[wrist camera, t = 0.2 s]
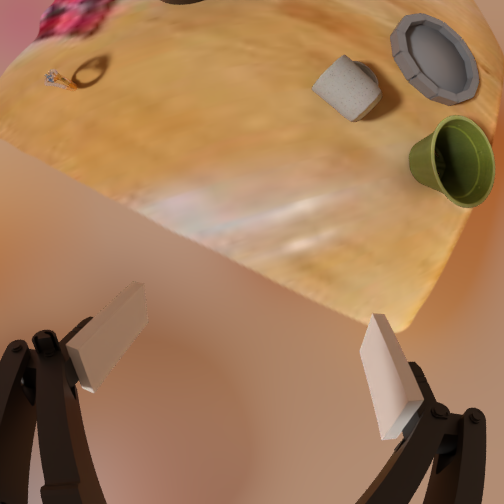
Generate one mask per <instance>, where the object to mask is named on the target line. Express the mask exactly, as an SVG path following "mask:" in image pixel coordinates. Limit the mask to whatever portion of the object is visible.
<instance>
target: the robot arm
mask: <svg viewBox="0 0 504 504" xmlns="http://www.w3.org/2000/svg"><path fill="white" fill-rule="evenodd" d="M161 1H163V2H165V3H169V4H179V5H180V4H190V3H195V2H199V1H202V0H161ZM146 307H147V306H146V297H145V286H144V283H139V282H134V281H133V282H132V283H131V284H130V285H129V286H127V287H126V288H125V289H124V290H123V291H122V292H121V293H120V294H119V295H118V296H116V297H115V298H114V299H113V300H112V301H111V302H110V303H109V304H108V305H107V306H105V307H104V308H103V309H102V310H101V311H100V312H99V313H98V314H97V315H96V316H95V317H88V318H86V319H84V320H83V321H81V322H80V323H79V324H78V325H77V327H75V328H74V329H73V330H72V331H71V332H69V333H68V334H67V335H66V336H65V337H64V338H63V339H62V340H61V341H60V342H58V339H57V337H56V334H55V333H54V332H53V331H51V330H42V331H39V332H38V333H36V334H35V335H34V336H33V338H32V342H33V344H34V347H35V350H32V349H29V348H28V345H27V343H26V342H25V341H24V340H15V341H13V342H11V343H10V344H9V345H8V346H7V348H6V350H5V352H4V354H3V356H2V359H1V361H0V504H28V482H29V470H30V460H31V452H32V445H33V438H34V432H35V427H36V421H37V428H38V438H39V448H40V455H41V463H42V469H43V473H44V480H45V485H44V486H42V487H41V490H40V492H41V498H42V502H43V504H107V503H106V500H105V498H104V495H103V493H102V489H101V487H100V484H99V481H98V478H97V475H96V472H95V469H94V465H93V462H92V458H91V455H90V451H89V447H88V443H87V439H86V435H85V430H84V426H83V421H82V416H81V411H80V406H79V399H78V393H77V388H76V386H75V384H76V383H77V381H78V380H79V381H80V384H81V386H82V388H83V389H85V390H88V391H90V392H92V393H95V392H96V391H97V389H98V388H99V386H100V385H101V384H102V382H103V381H104V379H105V378H106V377H107V375H108V374H109V373H110V371H111V370H112V369H113V368H114V366H115V365H116V363H117V362H118V361H119V360H120V358H121V357H122V356H123V354H124V353H125V352H126V350H127V349H128V348H129V346H130V345H131V344H132V342H133V341H134V340H135V339H136V337H137V336H138V335H139V334H140V332H141V331H142V330H143V328H144V327H145V326H146V324H147V323H148V316H147V308H146ZM359 352H360V356H361V359H362V363H363V366H364V370H365V374H366V377H367V381H368V385H369V388H370V392H371V397H372V400H373V404H374V408H375V413H376V417H377V421H378V426H379V430H380V435H381V440H386V439H396V438H397V437H398V436H399V434H400V433H401V432H403V436H404V438H403V439H402V441H401V442H400V443H399V444H398V445H397V447H396V448H395V449H394V450H395V451H394V453H393V454H392V456H391V457H390V459H389V460H388V462H387V463H386V465H385V466H384V468H383V469H382V470H381V472H380V473H379V475H378V476H377V477H376V478H375V480H374V481H373V482H372V484H371V485H370V486H369V488H368V489H367V490H366V491H365V493H364V494H363V495H362V496H361V497H360V499H359V500H358V501H357V502H356V503H355V504H408V503H409V502H410V500H411V498H412V497H413V495H414V493H415V492H416V490H417V488H418V486H419V485H420V483H421V481H422V479H423V478H424V475H425V474H426V472H427V470H428V468H429V466H430V464H431V462H432V460H433V458H434V460H433V465H432V471H431V475H430V479H429V483H428V487H427V491H426V494H425V498H424V501H423V504H481V502H482V496H483V488H484V478H485V464H486V419H485V416H484V414H483V413H482V412H481V411H480V410H479V409H476V408H469V409H467V410H466V412H465V413H464V414H463V415H460V414H453V413H450V411H449V409H448V408H447V407H446V406H445V405H443V404H441V403H438V402H436V399H435V397H434V395H433V393H432V391H431V388H430V386H429V384H428V383H427V380H426V377H424V376H425V375H424V373H423V371H422V369H421V368H420V367H419V366H418V365H417V364H416V363H415V362H408V361H407V359H406V357H405V355H404V353H403V351H402V349H401V347H400V344H399V342H398V340H397V338H396V336H395V334H394V332H393V330H392V328H391V326H390V324H389V322H388V320H387V318H386V316H385V315H384V314H374V313H372V316H371V319H370V322H369V325H368V328H367V331H366V334H365V337H364V340H363V343H362V346H361V348H360V351H359Z"/></svg>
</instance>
